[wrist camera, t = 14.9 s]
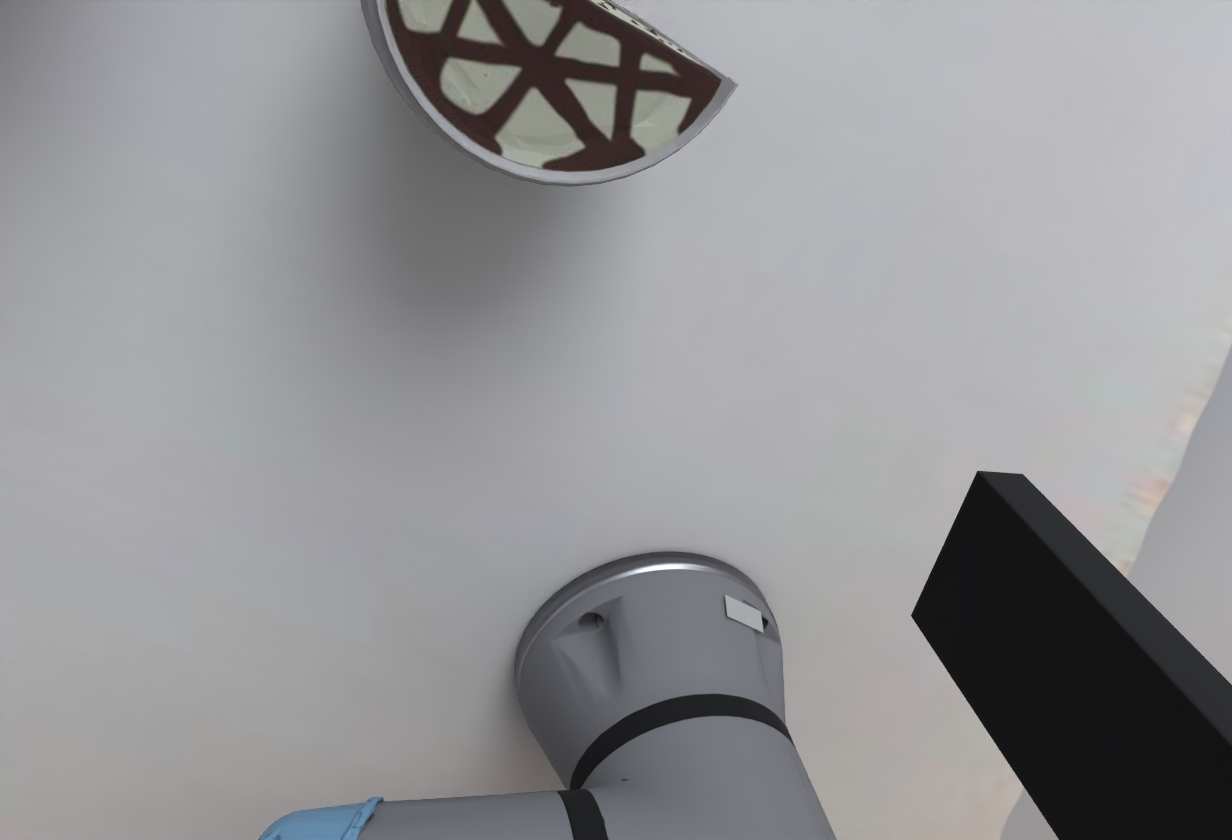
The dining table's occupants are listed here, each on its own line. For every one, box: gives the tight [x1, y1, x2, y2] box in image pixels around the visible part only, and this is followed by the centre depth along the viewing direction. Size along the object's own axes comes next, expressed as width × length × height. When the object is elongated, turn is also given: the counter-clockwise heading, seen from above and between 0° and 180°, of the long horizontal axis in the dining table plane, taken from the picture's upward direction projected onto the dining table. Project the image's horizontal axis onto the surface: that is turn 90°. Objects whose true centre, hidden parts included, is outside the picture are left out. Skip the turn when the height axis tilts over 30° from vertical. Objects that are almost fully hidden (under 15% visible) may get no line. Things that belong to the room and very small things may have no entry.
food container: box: [361, 0, 738, 186], centre depth 32 cm, size 12×6×10 cm, turn 60°
